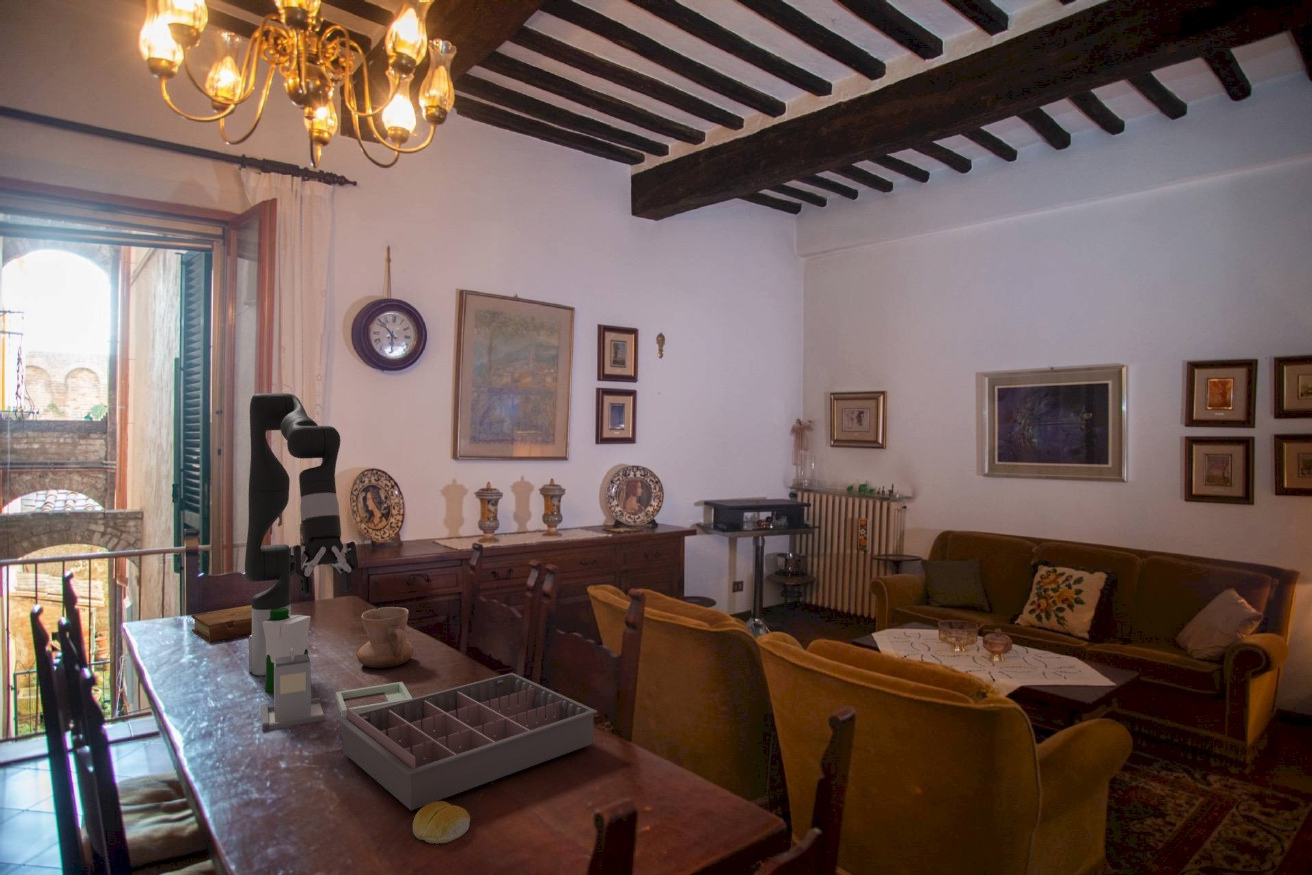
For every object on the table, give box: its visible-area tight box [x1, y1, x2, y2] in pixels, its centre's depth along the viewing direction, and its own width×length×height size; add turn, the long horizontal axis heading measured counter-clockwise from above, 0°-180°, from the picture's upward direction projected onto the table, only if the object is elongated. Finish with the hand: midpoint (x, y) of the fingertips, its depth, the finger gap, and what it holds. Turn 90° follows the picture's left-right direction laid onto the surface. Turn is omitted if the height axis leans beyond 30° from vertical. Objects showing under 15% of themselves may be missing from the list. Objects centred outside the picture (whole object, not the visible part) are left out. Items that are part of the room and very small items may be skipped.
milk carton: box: [262, 608, 312, 694], centre depth 182 cm, size 9×9×20 cm
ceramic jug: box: [356, 606, 414, 669], centre depth 203 cm, size 18×14×14 cm
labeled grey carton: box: [273, 647, 312, 722], centre depth 164 cm, size 7×5×15 cm
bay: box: [260, 697, 326, 732], centre depth 164 cm, size 12×12×2 cm
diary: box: [191, 604, 252, 643], centre depth 237 cm, size 23×19×6 cm
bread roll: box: [412, 800, 471, 845], centre depth 120 cm, size 8×9×4 cm
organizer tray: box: [336, 672, 599, 811], centre depth 148 cm, size 32×40×10 cm
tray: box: [335, 681, 413, 717], centre depth 173 cm, size 15×13×2 cm
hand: (327, 593), depth 156 cm, fingers open, 8 cm apart
